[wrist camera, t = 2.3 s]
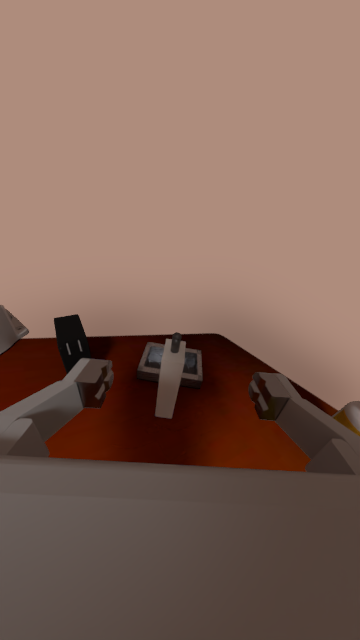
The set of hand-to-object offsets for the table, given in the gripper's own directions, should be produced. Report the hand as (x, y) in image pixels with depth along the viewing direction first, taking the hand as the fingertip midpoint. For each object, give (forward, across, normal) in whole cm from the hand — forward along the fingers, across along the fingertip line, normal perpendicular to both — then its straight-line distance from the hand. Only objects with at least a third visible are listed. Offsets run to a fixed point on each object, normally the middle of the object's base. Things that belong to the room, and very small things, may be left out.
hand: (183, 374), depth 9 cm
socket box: (+22, 0, +20) cm, 30 cm away
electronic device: (+20, +20, +20) cm, 35 cm away
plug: (+13, +1, +21) cm, 25 cm away
